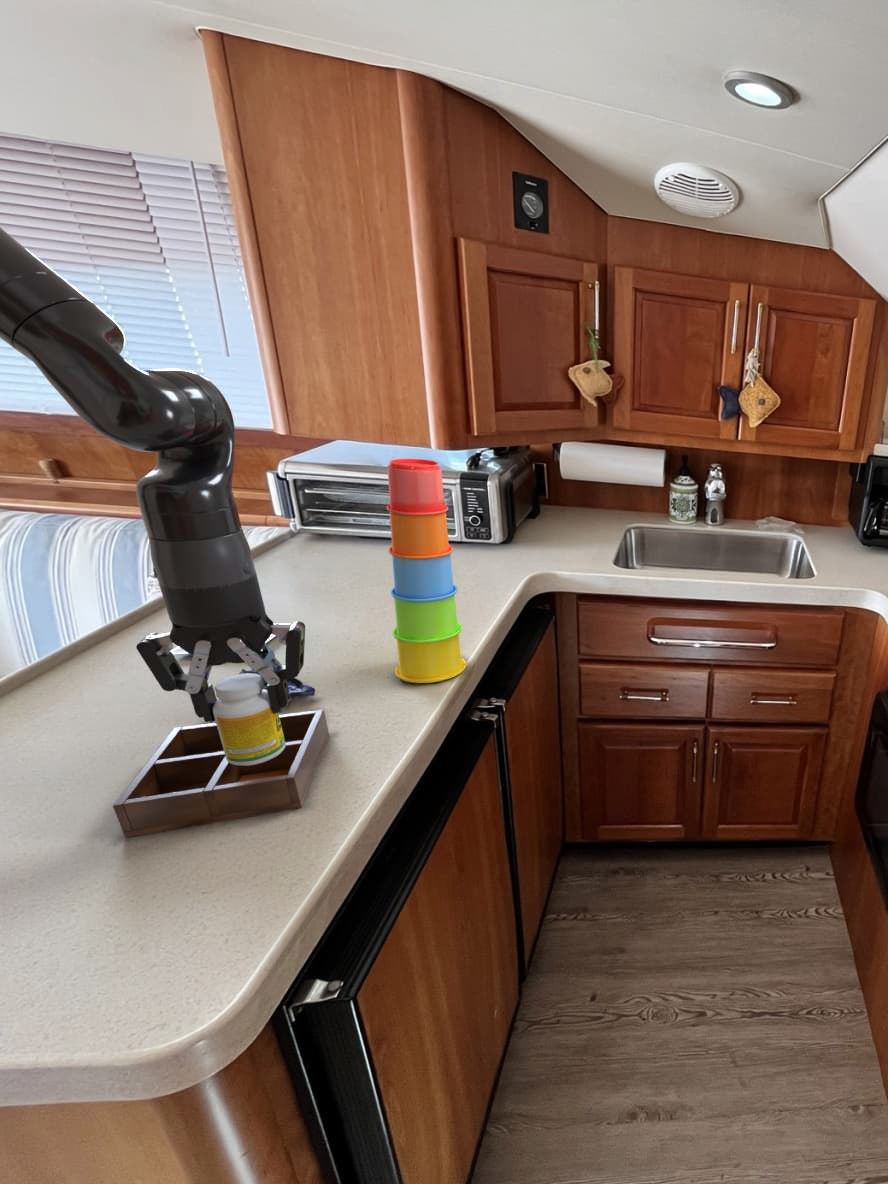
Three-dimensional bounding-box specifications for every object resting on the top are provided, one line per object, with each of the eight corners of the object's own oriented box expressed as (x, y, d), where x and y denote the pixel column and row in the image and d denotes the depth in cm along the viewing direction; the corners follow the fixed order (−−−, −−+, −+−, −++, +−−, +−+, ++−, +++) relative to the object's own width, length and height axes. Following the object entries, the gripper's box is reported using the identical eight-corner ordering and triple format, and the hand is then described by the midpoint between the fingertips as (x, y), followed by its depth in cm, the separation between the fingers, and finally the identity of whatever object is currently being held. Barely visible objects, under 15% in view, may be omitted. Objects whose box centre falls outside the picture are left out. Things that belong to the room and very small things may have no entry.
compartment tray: (124, 838, 68) (112, 806, 66) (183, 756, 81) (174, 727, 79) (301, 807, 74) (294, 777, 72) (329, 736, 87) (323, 709, 85)
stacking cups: (408, 657, 109) (377, 454, 96) (473, 656, 111) (450, 457, 99) (385, 686, 100) (347, 466, 87) (456, 684, 102) (429, 469, 89)
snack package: (216, 696, 94) (199, 735, 84) (215, 656, 92) (197, 691, 83) (317, 692, 100) (312, 728, 91) (318, 655, 99) (313, 687, 90)
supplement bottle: (220, 754, 73) (198, 681, 70) (276, 735, 77) (258, 665, 74) (236, 773, 70) (215, 698, 67) (294, 752, 74) (276, 681, 71)
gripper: (302, 558, 72) (330, 689, 78) (132, 566, 66) (177, 706, 72) (284, 581, 65) (316, 721, 72) (94, 591, 60) (147, 743, 66)
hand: (246, 713), depth 72 cm, fingers closed on supplement bottle, 5 cm apart
